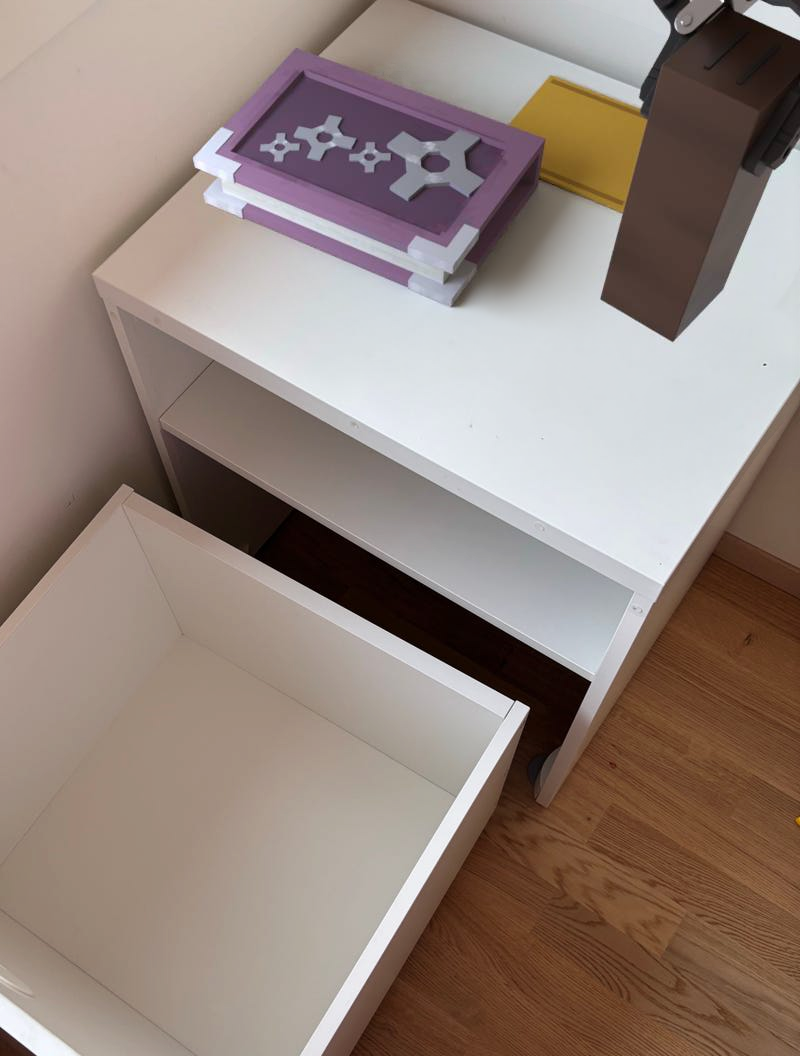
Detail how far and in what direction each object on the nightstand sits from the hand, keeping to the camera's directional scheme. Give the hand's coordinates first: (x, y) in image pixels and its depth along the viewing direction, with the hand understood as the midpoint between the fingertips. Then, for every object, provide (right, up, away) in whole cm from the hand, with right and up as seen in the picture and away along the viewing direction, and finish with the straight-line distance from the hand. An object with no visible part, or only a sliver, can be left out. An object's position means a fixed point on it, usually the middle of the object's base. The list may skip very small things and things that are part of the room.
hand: (700, 144), depth 51 cm
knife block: (+2, -4, +12) cm, 12 cm away
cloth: (+4, +19, +39) cm, 44 cm away
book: (-15, +14, +38) cm, 43 cm away
